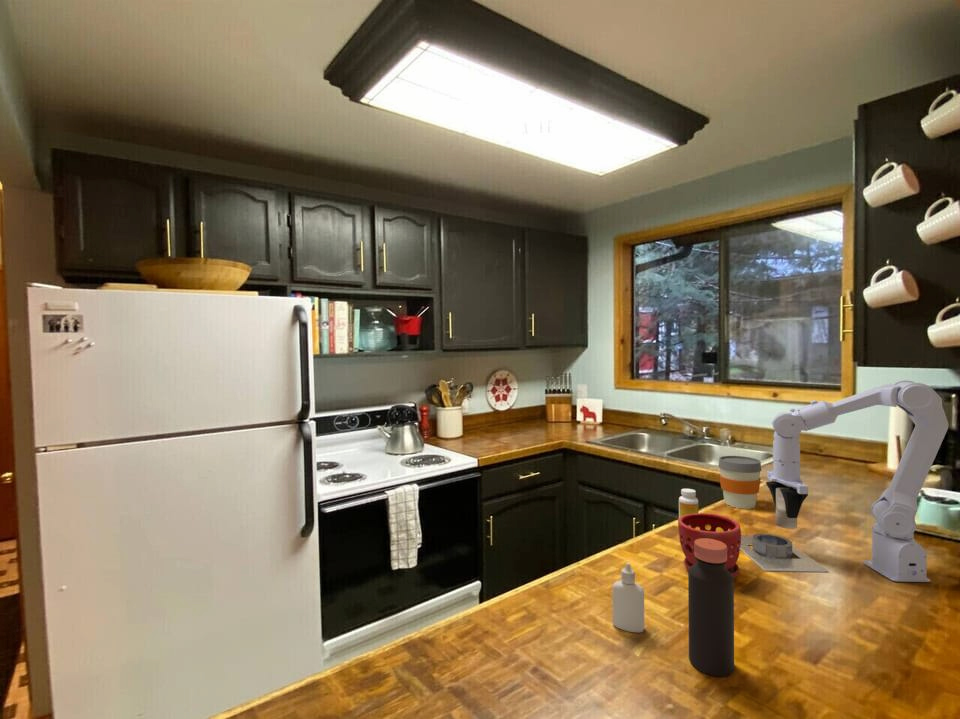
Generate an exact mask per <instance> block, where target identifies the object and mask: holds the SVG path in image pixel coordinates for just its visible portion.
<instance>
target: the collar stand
mask: <svg viewBox="0 0 960 719" xmlns="http://www.w3.org/2000/svg"><path fill="white" fill-rule="evenodd" d="M748 545H753V546H752V547H751V546H748ZM740 549H741V550H742V551H743V552H742V551H741V550H740V551H741V552H742V553H743V554H745V555H746V556H747V557H748V556H749V557H750V558H751V561H753V562H754V563H755V564H756V565H757V566H758V567H760V568H761V569H762V570H763V571H764V572H805V573H806V572H811V573H814V572H815V573H818V572H819V573H828V568H826V567H825V566H823V565H822V564H820V563H819V562H817V561H816V560H815V559H813V558H812V557H810V556H809V555H807V554H806V553H804V552H803V551H802V550H800V549H799V548H797V547H796V546H795V545H794V544H793V541H792V540H790V539H788V538H786V537H783V536H781V535H778V534H771V533H756V534H753V535H752V534H751V535H749V534H745V535H744V534H741V545H740ZM793 556H794V557H796V558H793ZM749 557H748V558H749Z"/></svg>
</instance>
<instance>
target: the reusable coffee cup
mask: <svg viewBox="0 0 960 719" xmlns="http://www.w3.org/2000/svg"><path fill="white" fill-rule="evenodd" d="M718 468H719V473H720V474H719V482H720V488H721V489H722V493H723V500H724V501H723V502H724V504H725V503H726V504H727V505H726V504H725V505H726V506H728V505H730V506H732V507H731V508H733V507H736V508H735V509H738V508H742V509H741V510H751V508H753V509H755V508H756V503H757V499H758V498H757V497H758V494H759V492H760V487H761V486H760V485H761V477H760V476H761V475H760V474H761V472H762V464H761V460H759V459H758V458H753V457H750V456H749V457H748V456H742V455H741V456H740V455H724V456H720V457H719V459H718ZM730 506H729V507H730Z"/></svg>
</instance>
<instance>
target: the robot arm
mask: <svg viewBox="0 0 960 719" xmlns="http://www.w3.org/2000/svg"><path fill="white" fill-rule="evenodd" d="M875 406H884V407H891V408H893V407H894V408H897V407H898V408H900V409H901V410H902V411H904V412H905V413H906V414H907V416H908V417H909V418H910V420H911V421H912V422H913V424H914V425H915V426H914V428H913V430H912V433H911V435H910V436H909V437H910V438H909V440H908V442H907V445H906V447H905V449H904V452H903V453H902V456H901V458H900V461H899V462H898V466H897V467H896V470H895V472H894V475H893V477H892V478H891V479H892V480H891V482H890V484H889V487H887V488H885V490H884V491H883V493H882V494H881V496H880V497H879V498H878V499H877V500H876V501H874V502H873V503H872V505H871V506H870V511H871V515H872V518H874V520H876V521H875V523H874V524H873V525H872V527H871V528H872V531H871V534H872V535H871V536H872V537H871V540H872V541H871V543H872V545H871V548H872V549H871V550H872V551H871V552H872V554H871V556H872V557H871V558H872V559H871V560H862V563H863V564H864V565H865V566H867V567H869V568H871V569H872V570H874V571H876V572H877V573H879V574H880V575H882V576H884V577H886V578H887V579H889V580H890V581H892V582H903V583H904V582H906V583H907V582H908V583H912V582H914V583H931V582H932V581H931V579H930V578H928V577H927V565H928V564H927V557H928V556H927V552H926V550H925V548H924V547H922V545H921V544H919V543H918V542H917V541H916V539H915V536H914V535H915V534H914V533H915V531H916V529H917V523H916V514H917V512H918V503H917V502H918V498H919V495H920V493H921V490H922V488H923V486H924V485H925V484H924V483H925V481H926V479H927V477H928V474H929V472H930V470H931V468H932V466H933V463H934V461H935V459H936V456H937V454H938V451H939V450H940V448H941V445H942V442H943V440H944V439H945V436H946V433H947V432H948V429H949V422H948V419H947V415H946V413H945V412H946V411H945V410H944V407H943V398H942V397H941V396H940V395H939V393H937V392H936V390H934V389H933V388H932V387H931V386H929V385H927V384H925V383H921V382H915V381H911V380H901V381H900V380H899V381H898V382H897V381H896V382H895V383H887V384H884V385H879V386H877V387H876V386H875V387H873V388H870V389H867V390H864V391H862V392H858V393H856V394H854V395H853V394H852V395H851V396H848V397H845V398H842V399H839V400H837V401H834V402H828V401H824V400H820V401H817V400H816V399H814V400H811V401H810V404H807V405H804V406H801V407H798V408H794V407H791V408H789V412H786V411H783V412H779V413H777V414H776V415H775V416H774V417H773V419H772V422H771V424H772V427H773V429H774V431H773V432H774V434H773V441H772V470H767V471H766V478H767V479H768V481H766V482H765V485H766V486H767V488H768V490H769V492H770V495H771V496H772V500H773V505H774V508H775V509H776V488H789V489H780V491H781V493H782V495H783V497H784V501H785V507H786V514H787V517H788V518H797V519H798V516H799V513H800V512H801V511H800V510H801V508H802V505H803V503H804V501H805V499H806V498H807V497H808V496H809V486H808V485H807V484H806V483H804V481H803V480H802V479H801V443H800V434H801V433H802V431H803V432H808V431H811V430H814V429H817V428H821V427H824V426H827V425H830V424H831V425H832V424H834V423H835V422H836V420H837V418H838V416H841V415H845V414H848V413H853V412H857V411H860V410H864V409H866V408H870V407H875Z"/></svg>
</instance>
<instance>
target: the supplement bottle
mask: <svg viewBox="0 0 960 719" xmlns="http://www.w3.org/2000/svg"><path fill="white" fill-rule="evenodd" d="M680 494H681V496H679V497H678V519H679V518H680V517H682V516H684V515H687V514H694V513H699V499H698V497H696V496H697V495H696V494H697V492H696V489H692V488H682V489H680Z"/></svg>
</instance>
